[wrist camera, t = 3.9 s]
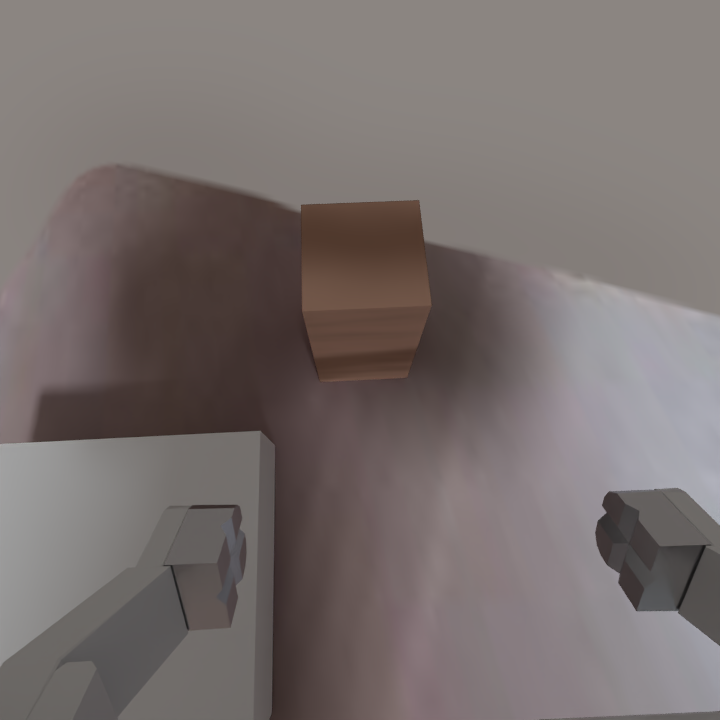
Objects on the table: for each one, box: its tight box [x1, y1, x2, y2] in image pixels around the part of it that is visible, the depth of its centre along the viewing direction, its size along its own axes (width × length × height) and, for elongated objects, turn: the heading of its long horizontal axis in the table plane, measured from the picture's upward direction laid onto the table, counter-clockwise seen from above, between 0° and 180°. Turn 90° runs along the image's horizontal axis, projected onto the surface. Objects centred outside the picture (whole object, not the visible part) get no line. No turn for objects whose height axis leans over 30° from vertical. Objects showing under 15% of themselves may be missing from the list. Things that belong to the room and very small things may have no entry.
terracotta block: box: [301, 200, 432, 382], centre depth 22 cm, size 5×5×9 cm
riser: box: [0, 431, 275, 720], centre depth 20 cm, size 12×12×4 cm
